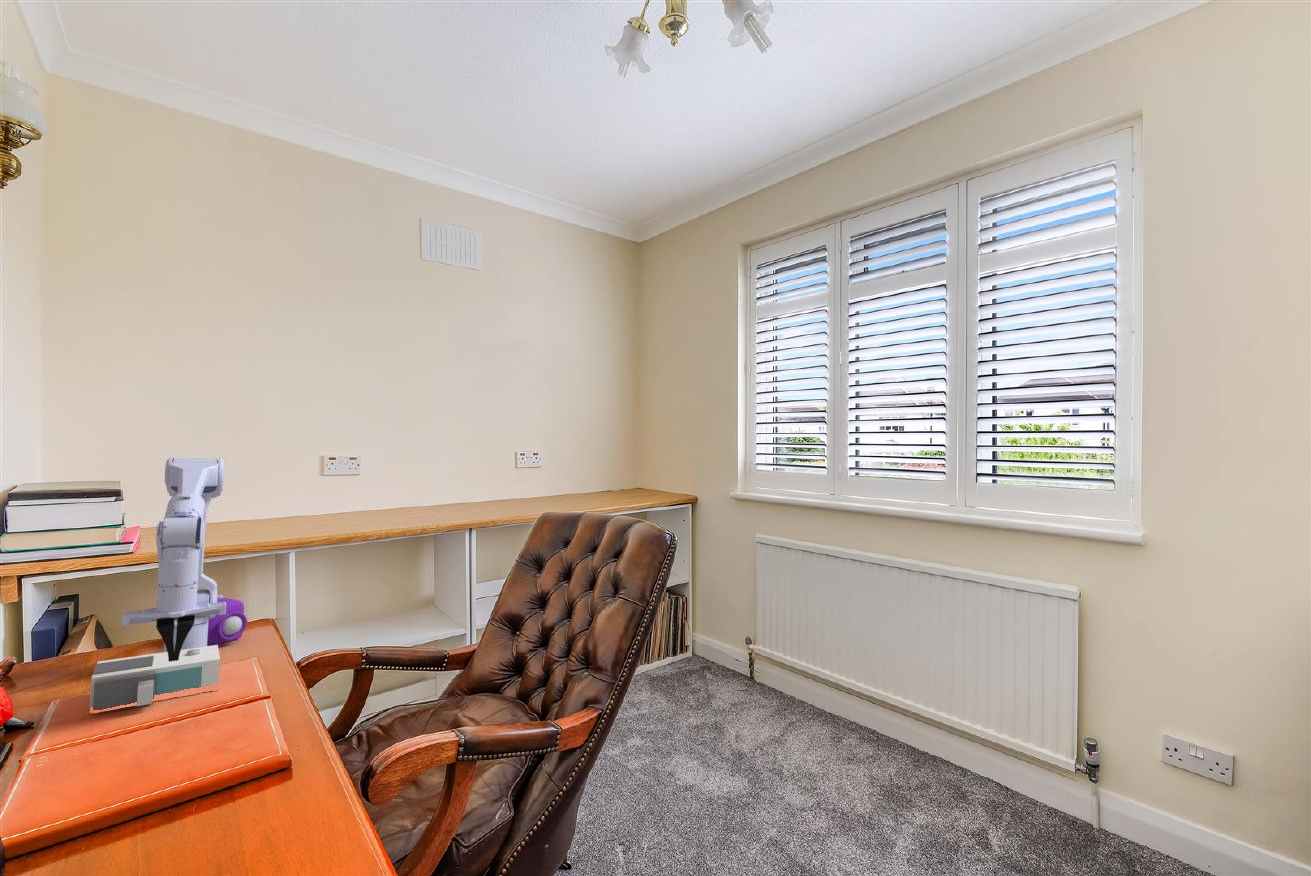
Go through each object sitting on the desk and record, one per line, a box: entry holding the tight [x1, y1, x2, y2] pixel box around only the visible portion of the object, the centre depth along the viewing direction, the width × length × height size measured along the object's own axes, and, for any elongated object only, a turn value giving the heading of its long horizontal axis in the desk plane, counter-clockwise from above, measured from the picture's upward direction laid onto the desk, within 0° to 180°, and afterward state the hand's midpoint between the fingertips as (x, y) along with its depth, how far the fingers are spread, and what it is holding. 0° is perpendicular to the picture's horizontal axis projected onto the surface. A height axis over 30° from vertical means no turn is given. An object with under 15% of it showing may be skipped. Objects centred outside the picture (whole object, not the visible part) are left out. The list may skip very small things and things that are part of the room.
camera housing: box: [89, 644, 221, 708], centre depth 112 cm, size 10×18×7 cm, turn 129°
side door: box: [93, 672, 156, 710], centre depth 103 cm, size 4×8×5 cm, turn 129°
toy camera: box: [207, 594, 248, 646], centre depth 141 cm, size 11×14×10 cm
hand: (173, 659), depth 106 cm, fingers closed
